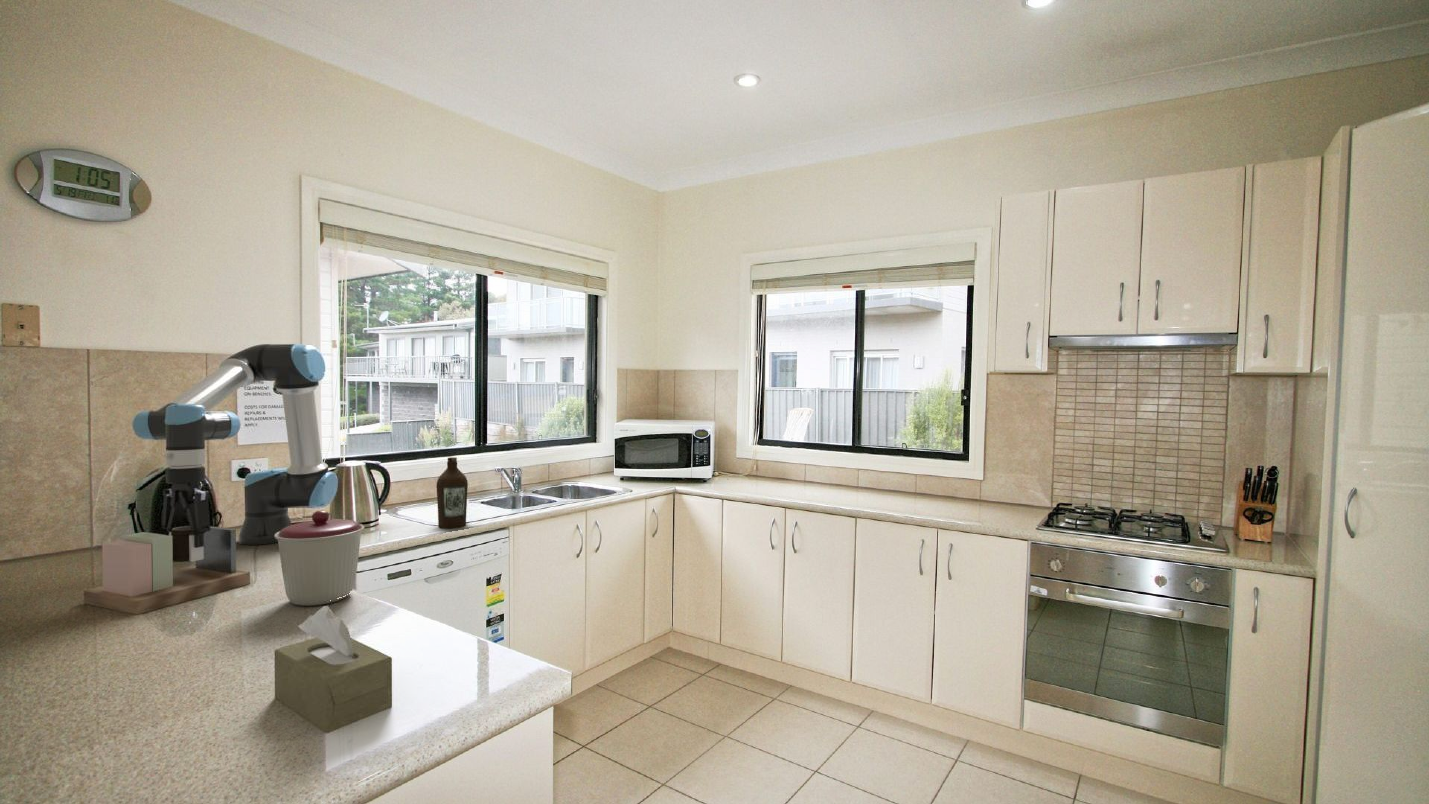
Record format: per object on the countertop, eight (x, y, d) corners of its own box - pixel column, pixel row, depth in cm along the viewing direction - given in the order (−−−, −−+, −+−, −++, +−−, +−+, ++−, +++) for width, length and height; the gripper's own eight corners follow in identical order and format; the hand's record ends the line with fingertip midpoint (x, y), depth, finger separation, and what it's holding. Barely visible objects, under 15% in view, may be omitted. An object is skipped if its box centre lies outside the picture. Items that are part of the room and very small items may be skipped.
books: (144, 581, 154) (143, 532, 154) (172, 586, 150) (172, 535, 150) (102, 590, 147) (102, 539, 147) (131, 596, 143) (131, 543, 143)
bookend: (200, 566, 167) (200, 525, 167) (236, 572, 162) (235, 529, 162) (195, 567, 166) (195, 525, 166) (231, 573, 161) (230, 530, 161)
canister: (314, 616, 139) (313, 520, 139) (255, 607, 145) (254, 515, 145) (381, 591, 157) (381, 506, 156) (327, 584, 162) (326, 502, 162)
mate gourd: (173, 557, 160) (174, 517, 160) (210, 555, 162) (210, 516, 162) (160, 564, 153) (161, 523, 153) (199, 562, 156) (199, 521, 156)
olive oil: (434, 524, 235) (433, 457, 234) (464, 521, 240) (464, 455, 240) (439, 530, 226) (439, 459, 225) (470, 526, 232) (470, 458, 231)
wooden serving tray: (199, 575, 170) (199, 564, 170) (249, 583, 162) (249, 572, 162) (83, 603, 147) (83, 590, 147) (136, 614, 140) (136, 601, 140)
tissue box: (273, 698, 103) (272, 601, 103) (337, 676, 111) (337, 586, 111) (326, 735, 92) (326, 626, 92) (393, 708, 100) (393, 608, 100)
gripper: (142, 466, 158) (143, 558, 158) (194, 470, 150) (195, 566, 151) (177, 463, 165) (178, 551, 165) (228, 466, 157) (229, 559, 158)
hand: (186, 558), depth 158 cm, fingers closed on mate gourd, 7 cm apart
